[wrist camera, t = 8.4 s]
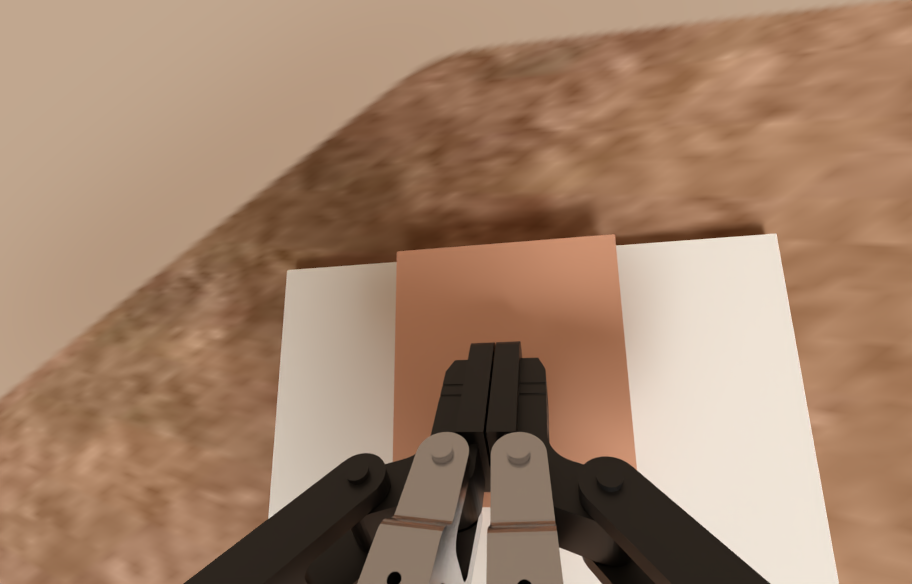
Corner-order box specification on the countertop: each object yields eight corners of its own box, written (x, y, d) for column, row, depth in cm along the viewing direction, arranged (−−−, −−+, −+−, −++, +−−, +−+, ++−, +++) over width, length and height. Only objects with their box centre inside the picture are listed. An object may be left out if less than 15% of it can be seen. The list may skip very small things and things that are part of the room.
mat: (274, 582, 19) (262, 590, 19) (296, 274, 22) (287, 270, 22) (833, 621, 15) (847, 632, 15) (767, 240, 18) (776, 233, 18)
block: (391, 504, 16) (396, 251, 18) (411, 492, 18) (413, 267, 20) (640, 512, 15) (614, 234, 17) (630, 498, 17) (608, 253, 19)
